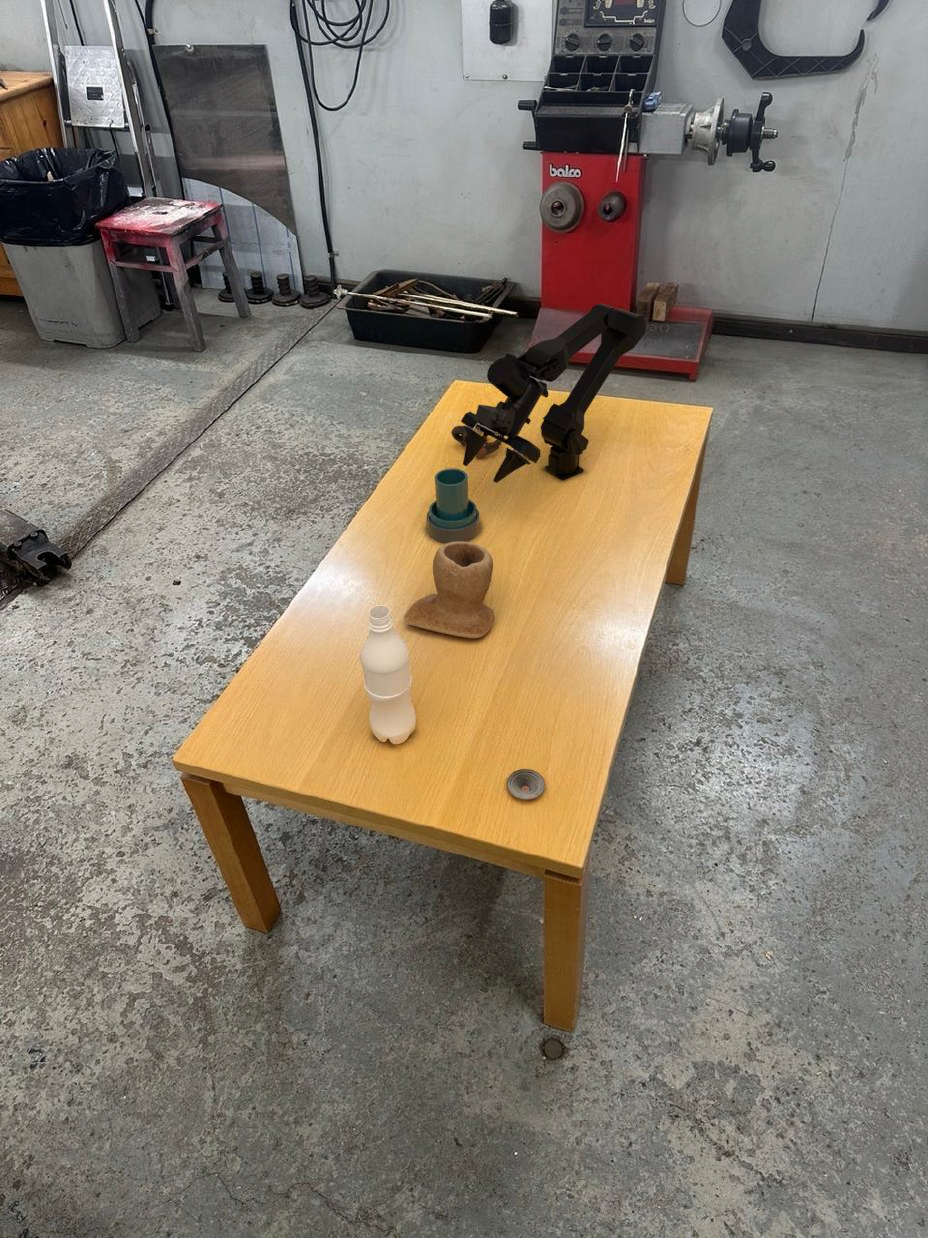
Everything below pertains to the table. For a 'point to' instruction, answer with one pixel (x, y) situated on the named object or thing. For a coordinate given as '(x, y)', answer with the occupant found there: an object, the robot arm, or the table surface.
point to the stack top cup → (452, 524)
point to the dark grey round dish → (525, 784)
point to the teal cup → (452, 494)
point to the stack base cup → (453, 531)
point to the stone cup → (457, 593)
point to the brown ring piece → (462, 439)
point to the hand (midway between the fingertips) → (479, 473)
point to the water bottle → (387, 678)
